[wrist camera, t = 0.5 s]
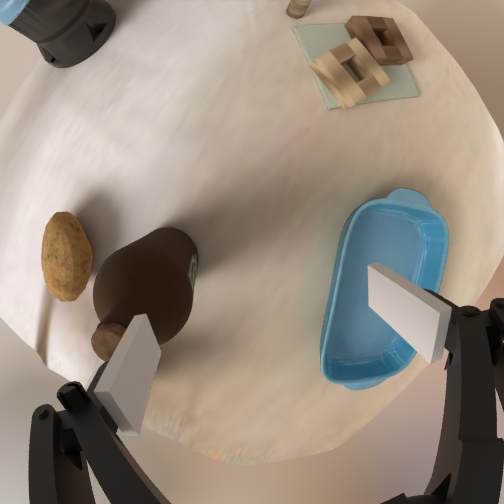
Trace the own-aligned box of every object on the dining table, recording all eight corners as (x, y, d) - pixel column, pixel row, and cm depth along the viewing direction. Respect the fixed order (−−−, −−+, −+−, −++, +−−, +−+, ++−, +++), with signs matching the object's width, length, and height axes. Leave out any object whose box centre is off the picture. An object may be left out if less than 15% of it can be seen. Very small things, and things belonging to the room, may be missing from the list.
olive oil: (130, 276, 41) (52, 369, 17) (146, 213, 39) (54, 257, 15) (191, 298, 43) (165, 415, 19) (211, 236, 41) (197, 312, 17)
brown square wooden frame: (344, 25, 33) (353, 15, 29) (382, 26, 33) (392, 18, 29) (364, 66, 35) (375, 58, 31) (401, 65, 35) (413, 59, 31)
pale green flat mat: (292, 29, 33) (294, 26, 32) (383, 27, 34) (386, 24, 33) (327, 110, 38) (330, 108, 37) (415, 97, 38) (419, 96, 37)
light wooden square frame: (309, 66, 34) (316, 56, 31) (346, 46, 34) (356, 37, 30) (344, 110, 37) (355, 104, 33) (378, 87, 36) (391, 81, 32)
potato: (103, 210, 38) (79, 216, 30) (102, 292, 41) (82, 313, 33) (56, 205, 37) (29, 211, 29) (58, 283, 40) (35, 300, 32)
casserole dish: (333, 176, 41) (353, 176, 34) (433, 198, 43) (458, 202, 37) (299, 373, 49) (309, 397, 43) (391, 363, 52) (406, 381, 45)
